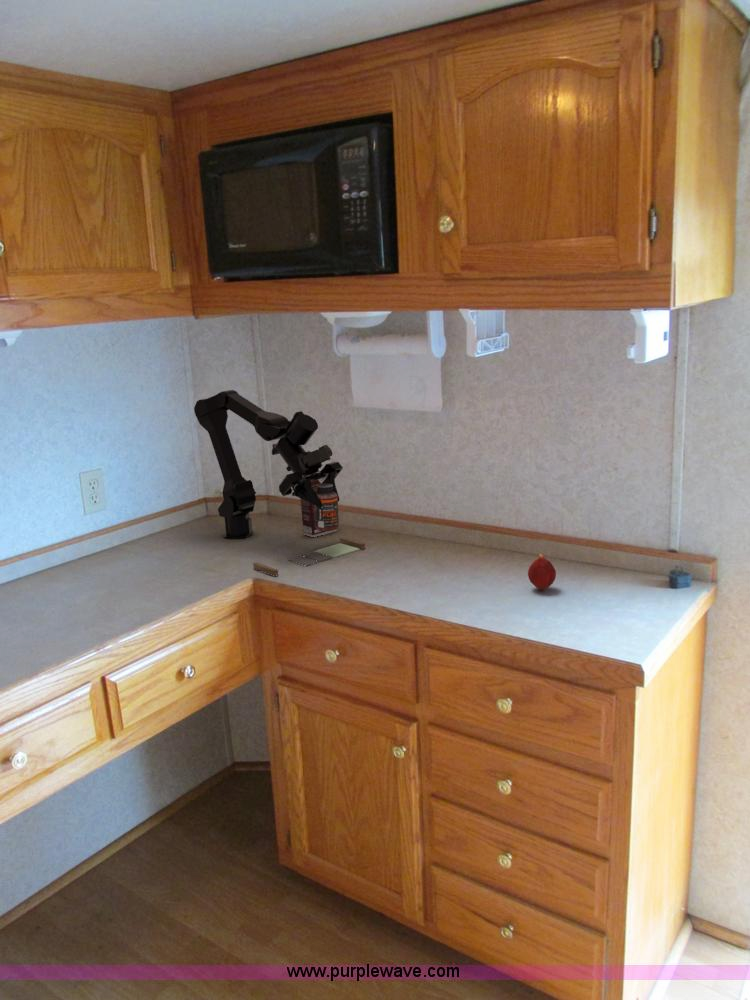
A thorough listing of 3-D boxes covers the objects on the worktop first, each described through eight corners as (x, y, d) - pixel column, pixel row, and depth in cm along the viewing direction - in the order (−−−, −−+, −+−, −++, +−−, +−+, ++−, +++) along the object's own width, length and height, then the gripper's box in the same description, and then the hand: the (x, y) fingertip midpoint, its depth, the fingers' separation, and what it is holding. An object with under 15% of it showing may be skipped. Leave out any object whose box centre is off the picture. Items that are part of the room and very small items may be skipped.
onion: (561, 589, 177) (561, 553, 175) (545, 596, 173) (545, 560, 171) (538, 583, 181) (538, 548, 179) (522, 591, 177) (522, 555, 175)
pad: (333, 557, 207) (333, 556, 207) (314, 551, 213) (314, 550, 213) (359, 549, 213) (359, 548, 213) (340, 544, 219) (340, 543, 218)
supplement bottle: (324, 533, 205) (321, 489, 202) (311, 528, 210) (308, 485, 207) (343, 528, 209) (341, 485, 206) (330, 524, 213) (328, 481, 210)
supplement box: (327, 528, 234) (323, 473, 230) (337, 531, 230) (333, 476, 227) (302, 535, 229) (297, 479, 225) (312, 538, 225) (308, 481, 221)
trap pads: (306, 566, 202) (306, 565, 202) (287, 559, 208) (287, 558, 208) (332, 558, 207) (332, 557, 207) (312, 552, 213) (312, 551, 213)
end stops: (274, 577, 195) (274, 570, 195) (253, 569, 202) (253, 563, 201) (365, 549, 213) (364, 543, 213) (343, 542, 220) (342, 537, 219)
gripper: (283, 442, 199) (320, 492, 195) (335, 430, 213) (370, 476, 209) (263, 471, 206) (298, 520, 202) (314, 457, 220) (348, 503, 216)
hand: (330, 504), depth 207 cm, fingers closed on supplement bottle, 6 cm apart
